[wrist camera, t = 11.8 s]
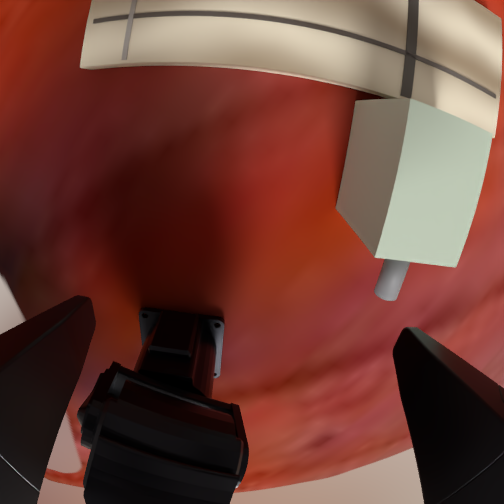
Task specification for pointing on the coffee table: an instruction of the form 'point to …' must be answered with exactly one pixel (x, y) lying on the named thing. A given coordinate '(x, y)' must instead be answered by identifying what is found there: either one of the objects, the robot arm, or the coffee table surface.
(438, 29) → the birch board
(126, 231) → the coffee table surface
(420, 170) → the block
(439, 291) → the coffee table surface
